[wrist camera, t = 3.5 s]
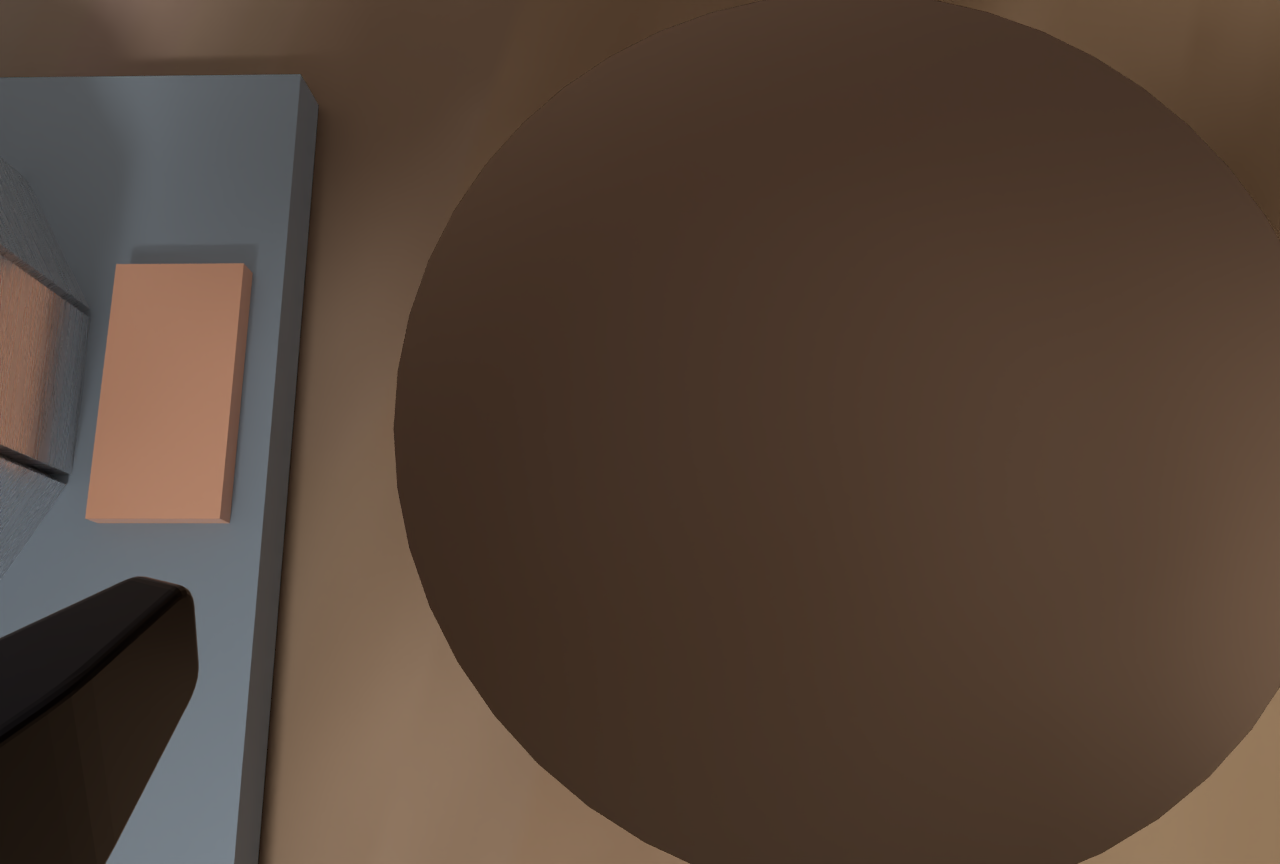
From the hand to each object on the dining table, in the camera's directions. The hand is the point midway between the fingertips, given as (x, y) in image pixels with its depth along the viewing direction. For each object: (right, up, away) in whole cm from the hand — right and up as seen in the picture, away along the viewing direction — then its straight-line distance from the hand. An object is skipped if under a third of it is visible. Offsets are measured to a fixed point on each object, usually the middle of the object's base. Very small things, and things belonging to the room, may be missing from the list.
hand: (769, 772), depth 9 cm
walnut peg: (+1, 0, +10) cm, 10 cm away
